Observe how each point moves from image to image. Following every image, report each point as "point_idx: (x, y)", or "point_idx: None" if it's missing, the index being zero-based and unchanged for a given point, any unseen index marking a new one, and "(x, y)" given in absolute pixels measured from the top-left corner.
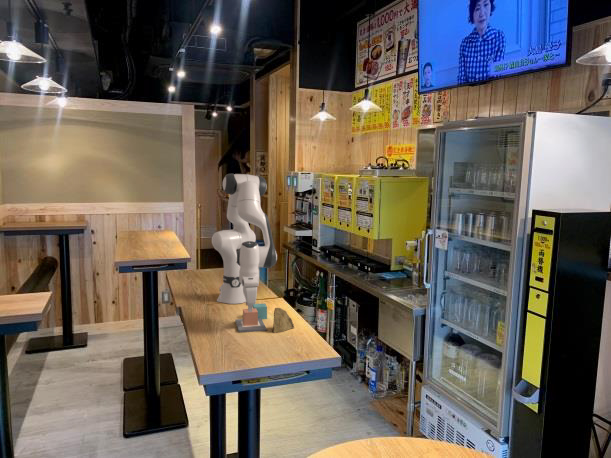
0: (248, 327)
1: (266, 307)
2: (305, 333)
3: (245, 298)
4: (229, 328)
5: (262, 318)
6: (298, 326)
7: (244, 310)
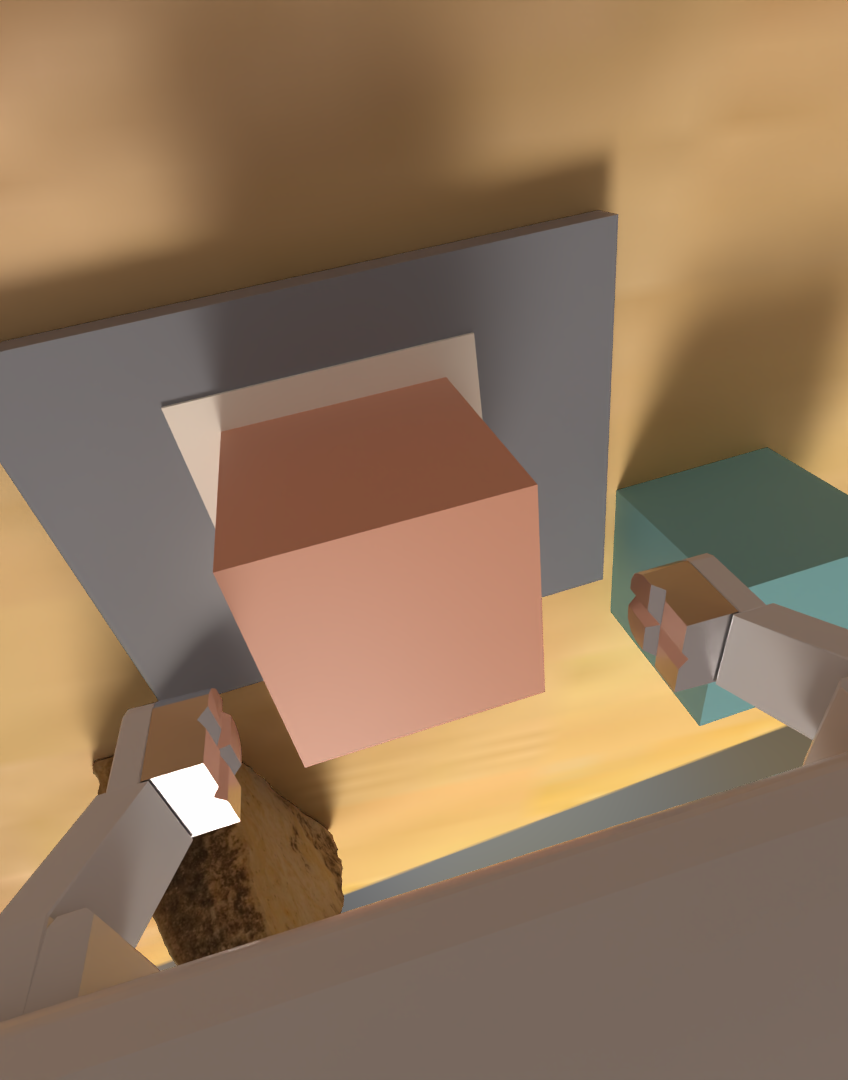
0: (162, 502)
1: (693, 713)
2: (156, 933)
3: (374, 935)
4: (180, 114)
5: (617, 577)
6: (345, 859)
7: (416, 539)
